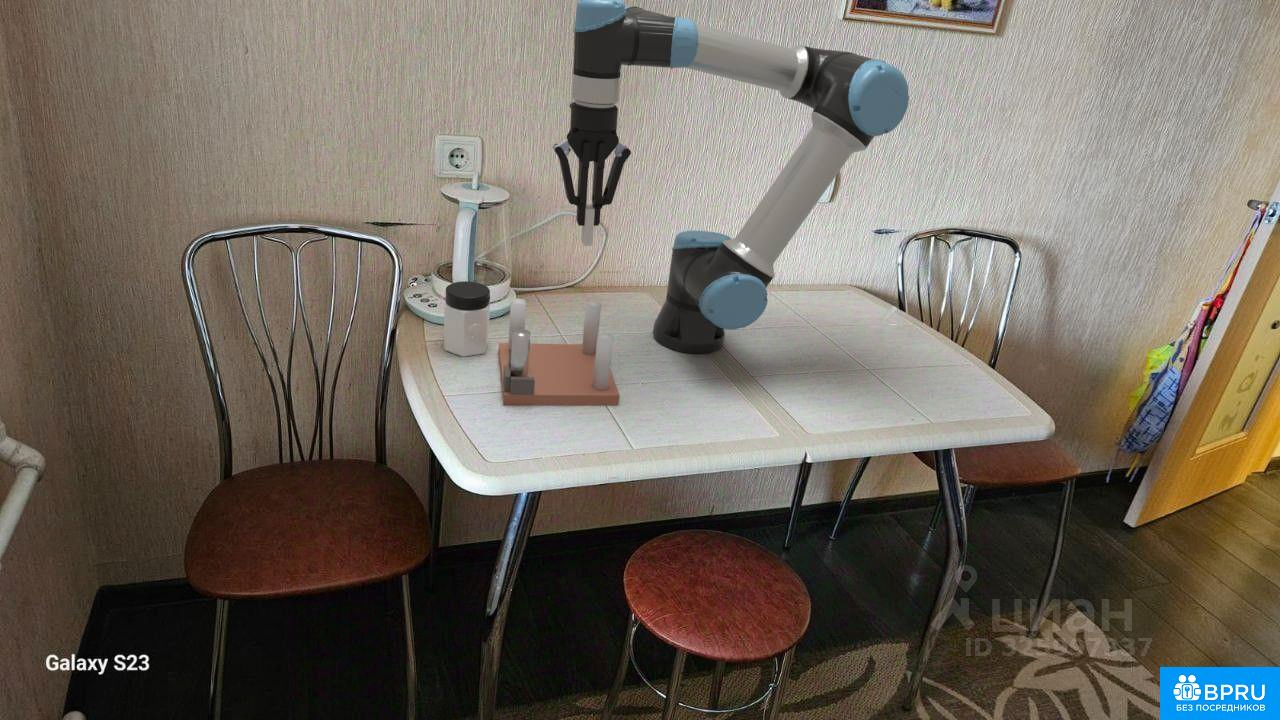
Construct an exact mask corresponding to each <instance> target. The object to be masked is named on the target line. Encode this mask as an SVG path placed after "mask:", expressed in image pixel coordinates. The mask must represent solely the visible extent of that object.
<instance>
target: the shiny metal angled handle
mask: <svg viewBox="0 0 1280 720" xmlns="http://www.w3.org/2000/svg"><path fill="white" fill-rule="evenodd" d="M530 343H531V331H530V330H527V329H526V328H525V329H516V330H514V331H513V332H512V349H511V350H509V361H508V366H509V368H510V369H511V370H510V381H511V377H528V364H529V349H530Z"/></svg>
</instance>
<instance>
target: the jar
mask: <svg viewBox="0 0 1280 720" xmlns="http://www.w3.org/2000/svg"><path fill="white" fill-rule="evenodd" d="M490 305H491V290H490V288H489V286H486V285H485V284H483V283H480V282H476V281H456V282H453V283H450V284H448V285H447V286H446V287H445V303H444V315H443V316H444V317H443V318H444V319H443V320H444V321H443V323H444V327H443V328H444V329H443V330H444V331H443V333H444V334H443V349H444V350H445V351H446V352H449V353H450V354H451V353H452V354H455V355H458V356H460V357H462V358H464V357H471V356H472V357H473V356H476V355H484V354H486V353H487V349H488V345H489V335H490V312H491V311H490V307H491V306H490Z"/></svg>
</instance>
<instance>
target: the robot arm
mask: <svg viewBox="0 0 1280 720" xmlns="http://www.w3.org/2000/svg"><path fill="white" fill-rule="evenodd" d="M574 19H575V21H574V27H573V31H574V37H573V39H574V40H573V42H574V43H573V70H572V82H571V83H572V85H571V98H572V100H573V102H572V103H571V105H570V128H569V131H568V132H567V135H566V139H565V140H563V141H562V142H560V143H554V144H553V147H552V149H553V151H554V153H555V154H556V156H557V157H558V162H559V166H560V170H561V174H562V175H561V176H562V182H563V186H564V191H565V196H566V198H567V201H568V203H569V204H570V205H574V206H576V223H577V225H578V226H581V236H580V239H581V242H582V245H583V246H584V247H586V246H587V247H588V246H589V247H592V246H594V245H593V244H594V243H593V241H594V226H595V227H596V226H600V222H601V210H602V209H603V207H604V206H606V205H611V204H613V200H614V197H615V193H616V190H617V188H618V185H619V181H620V178H621V175H622V171H623V168H624V165H625V163H626V162H627V160H628V159H629V157H630V156H631V154H632V152H631V150H630V148H629V147H628V146H627V145H623V144H622V143H621V142H620V138H619V136H618V134H617V133H618V132H617V128H618V116H619V114H618V113H619V108H618V107H617V105H616V104H617V103H619V100H620V99H619V98H620V86H621V85H620V83H621V70H622V66H639V67H655V68H668V69H671V70H673V69H675V68H679V69H680V68H682V69H683V68H685V69H689V70H694V71H698V72H701V73H702V72H703V73H706V74H709V75H714V76H717V77H721V78H726V79H729V80H730V79H731V80H735V81H739V82H742V83H746V84H751V85H755V86H759V87H762V88H767V89H770V90H775V91H778V92H779V93H780V95H781V97H782V98H784V99H788V100H792V101H794V102H797V103H801V104H803V105H805V106H808V107H809V108H811V109H813V110H812V112H811V114H810V115H811V123H812V126H811V128H810V129H809V130H808V131H807V134H806V135H805V137H804V138H803V139H802V141H801V142H800V144H799V145H798V147H797V148H796V149H795V151H794V153H793V154H792V155H791V157H790V158H789V160H788V161H787V162H786V164H785V166H784V167H783V168H782V169H781V171H780V172H779V174H778V176H777V177H776V178H775V180H774V182H773V183H772V184H771V185H770V187H769V188H768V190H767V192H766V193H765V195H764V196H763V197H762V198H761V200H760V202H759V203H758V205H757V206H756V208H754V210H753V212H752V213H751V215H750V216H749V217H748V219H747V221H745V223H744V224H743V226H742V228H741V229H740V231H739V232H738V233H737V234H736V236H735V237H734V238H731V237H730V236H729V235H726V234H723V233H720V232H714V231H706V230H687V231H681V232H679V233H678V234H677V235H675V238H674V242H673V246H672V248H671V250H672V254H671V261H670V268H669V274H668V282H667V289H666V297H665V301H664V302H663V305H662V307H661V309H660V311H659V313H658V314H657V317H656V319H655V321H654V322H653V329H652V335H653V338H654V340H655V341H657V342H658V343H659V344H660V345H662V346H664V347H666V348H669V349H671V350H672V351H673V350H674V351H677V352H681V353H685V354H686V353H687V354H708V353H714V352H717V351H718V350H720V349H722V347H723V346H724V344H725V343H724V342H725V339H726V338H725V337H726V330H730V331H731V330H737V329H742V328H746V327H748V326H750V325H752V324H753V323H755V322H756V321H757V320H758V319H759V318H760V317H761V316H762V315H763V313H764V312H765V309H766V308H767V305H768V289H767V287H769V285H770V283H771V282H772V281H773V279H774V278H775V269H774V264H775V262H776V261H777V259H778V258H779V257H780V256H781V254H782V252H783V251H784V250H785V249H786V247H787V245H788V244H789V243H790V241H791V240H792V239H793V237H794V236H795V234H796V233H797V232H798V230H799V229H800V227H801V226H802V224H803V223H804V222H805V220H806V219H807V218H808V216H809V215H810V213H811V212H812V210H813V209H814V207H816V205H817V204H818V202H819V201H820V199H821V198H822V196H823V195H824V193H825V192H826V191H827V189H828V188H829V186H830V185H831V184H832V182H833V181H834V179H835V178H836V177H837V175H838V174H839V172H841V169H842V168H843V167H844V166H845V165H846V163H847V161H848V159H850V157H851V155H852V154H854V153H857V152H858V153H859V152H863V151H865V150H866V149H867V148H868V146H869V145H870V144H871V142H872V141H873V139H874V138H875V137H878V136H879V137H880V136H883V135H884V134H889V133H890V132H892V131H893V130H895V129H896V128H897V127H898V126H899V124H901V122H902V120H903V119H904V117H905V115H906V113H907V109H908V107H909V101H910V95H909V85H908V81H907V79H906V78H905V75H904V73H902V71H901V70H900V69H898V68H897V67H896V66H894V65H892V64H890V63H887V62H886V61H885V60H882V59H879V58H877V59H874V58H872V57H868V56H863V55H860V54H856V53H854V52H853V53H852V52H850V51H843V50H833V49H823V48H814V47H810V46H806V45H802V44H797V45H794V46H793V47H787V46H784V45H783V46H782V45H780V44H775V43H772V42H769V41H768V42H767V41H764V40H760V39H757V38H753V37H749V36H746V35H741V34H737V33H734V32H729V31H726V30H723V29H718V28H715V27H712V26H708V25H704V24H700V23H696V22H695V21H694V20H693V19H691V18H684V17H679V16H668V15H666V14H662V13H658V12H654V11H652V10H651V11H650V10H646V9H644V8H642V7H639V6H633V5H632V6H626V4H625V2H624V1H623V0H578V2H577V4H576V11H575V18H574ZM570 148H571V150H572V151H573V152H574V153H575V156H576V157H577V158H578V160H577V161H578V174H577V175H578V176H577V188H576V189H577V191H576V193H577V194H576V193H575V189H574V183H573V178H572V173H571V167H570V162H569V160H568V157H567V156H569V155H570V150H569V149H570ZM613 151H614V158H613V160H612V165H611V168H610V171H609V175H608V178H607V181H606V183H605V187H604V172H605V171H604V170H605V165H606V160H607V159H608V157H610V155H611V154H612V152H613ZM591 162H593V175H592V190H591V191H592V193H591V203H589V204H588V203H587V201H588V200H587V199H588V185H589V184H588V183H589V169H590V163H591ZM603 187H604V189H603Z"/></svg>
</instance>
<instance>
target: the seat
mask: <svg viewBox="0 0 1280 720" xmlns="http://www.w3.org/2000/svg"><path fill="white" fill-rule="evenodd" d="M526 309H527V300H525V299H523V298H517V297H516V298H515V297H514V298H512V299H511V300H510V310H509V311H510V312H509V330H508V342H498V358H499V359H498V361H499V370H500V381H501V390H502V400H503V406H619V403H620V392H619V390H618V386H617V383H616V381H615V379H614V375H613V372H612V370H611V367H612V366H611V365H612V356H613V348H614V338H615V336H614V335H613V334H611V333H609V332H600V333H599V330H600V329H599V328H600V321H601V320H600V319H601V311H602V303H601V302H599V301H598V300H588V301H587V302H586V303H585V313H584V322H583V323H584V324H583V325H584V326H583V332H582V333H583V334H582V335H583V336H582V344H581V343H577V344H576V343H575V344H574V343H531V342H530V349H529V364H528V377H511V381H510V370H511V369H510V368H509V366H508V361H509V350H511V349H512V332H513V331H514V330H516V329H525V330H526V327H525V326H526V325H525V324H526V312H527V310H526Z"/></svg>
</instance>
